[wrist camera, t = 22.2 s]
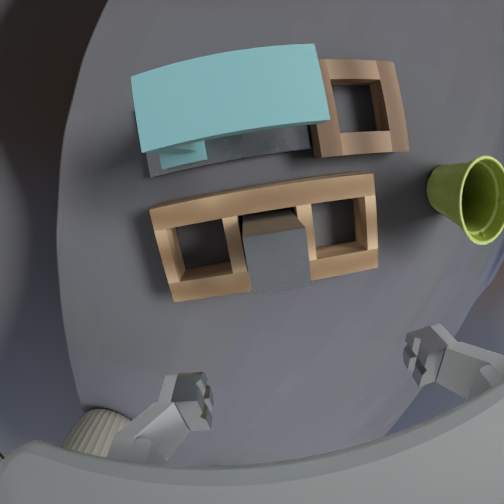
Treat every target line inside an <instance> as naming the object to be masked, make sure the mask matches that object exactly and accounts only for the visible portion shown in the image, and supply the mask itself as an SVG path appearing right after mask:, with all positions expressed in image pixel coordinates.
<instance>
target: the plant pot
mask: <svg viewBox="0 0 504 504" xmlns="http://www.w3.org/2000/svg"><path fill="white" fill-rule="evenodd" d="M427 196H428V200H429V202H430V204H431V205H432V207H433V208H434V209H435V210H436V211H438V212H439V213H441V214H443V215H444V216H446V217H447V218H449V219H450V220H452V221H453V222H455V223H456V224H457V225H459V226H460V227H461V228H462V230H463V231H464V233H465V234H466V236H467V237H468V238H469V239H470V240H471V241H472V242H474V243H476V244H479V245H485V244H488V243H490V242H492V241H493V240H494V239H495V238H496V237H497V236H498V235H499V234H500V233H501V231H502V229H503V228H504V168H503V167H502V165H501V164H500V163H499V162H498V161H497V160H496V159H494V158H493V157H490V156H481V157H478V158H476V159H474V160H473V161H471V162H469V163H460V164H450V165H441V166H438V167H436V168H435V169H434V170H433V172H432V174H431V176H430V178H429V179H428V182H427Z"/></svg>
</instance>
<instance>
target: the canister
mask: <svg viewBox="0 0 504 504" xmlns="http://www.w3.org/2000/svg"><path fill="white" fill-rule="evenodd" d="M131 421H132V420H130V419H129V418H127V417H125V416H124V415H121V414H119V413H116V412H114V411H111V410H106V409H92V410H90V411H88V412H86V413H85V414H84V415H83V416H82V417H81V418H80V419H79V420H78V422H77V423H76V424H75V426H74V427H73V429H72V430H71V431H70V433H69V435H68V436H67V437H66V438H65V440H64V441H63V443H62V444H61V446H60V447H63V448H66V449H70V450H74V451H78V452H82V453H87V454H91V455H96V456H101V457H107V454H108V452H109V449H110V446H111V443H112V441H113V438H114V435H115V434H116V433H117V432H119V431H120V430H121V429H122V428H124V427H125V426H126V425H127V424H129V423H130V422H131Z"/></svg>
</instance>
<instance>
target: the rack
mask: <svg viewBox="0 0 504 504" xmlns="http://www.w3.org/2000/svg"><path fill="white" fill-rule="evenodd" d="M350 198H353V205H354V217H355V232H356V241H351V242H345V243H339V244H333V245H327V246H322V247H315V237H314V227H313V219H312V210H311V204H314V203H321V202H328V201H335V200H342V199H350ZM287 207H291V208H292V212H293V214H294V215H295V216H296V217H297V218H298V219H299V221H300V222H301V223H302V224H303V225H304V226H305V228H306V234H307V243H308V253H309V263H310V274H311V281H312V280H317V279H323V278H328V277H333V276H339V275H344V274H349V273H354V272H359V271H364V270H369V269H374V268H378V234H377V212H376V197H375V185H374V175H373V173H368V172H362V171H358V172H348V173H339V174H330V175H322V176H314V177H306V178H299V179H292V180H285V181H278V182H272V183H265V184H259V185H253V186H247V187H241V188H236V189H230V190H225V191H219V192H214V193H209V194H204V195H199V196H194V197H189V198H184V199H179V200H175V201H170V202H165V203H161V204H158V205H156V206H155V207H153V208H151V209H149V212H150V216H151V220H152V224H153V228H154V232H155V236H156V240H157V244H158V248H159V252H160V255H161V259H162V263H163V266H164V270H165V273H166V277H167V280H168V283H169V287H170V290H171V293H172V297H173V300H174V302H180V301H187V300H194V299H201V298H208V297H215V296H222V295H228V294H235V293H241V292H248V291H252V288H251V283H250V277H249V272H248V266H247V261H246V255H245V250H244V244H243V238H242V230H241V225H240V219H239V215H245V214H251V213H257V212H263V211H269V210H275V209H281V208H287ZM216 219H222V221H223V226H224V231H225V236H226V241H227V246H228V251H229V256H230V261H231V262H226V263H220V264H214V265H208V266H202V267H196V268H190V269H186V268H185V264H184V261H183V257H182V253H181V249H180V245H179V241H178V236H177V232H176V228H175V227H179V226H184V225H190V224H195V223H200V222H206V221H211V220H216Z"/></svg>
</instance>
